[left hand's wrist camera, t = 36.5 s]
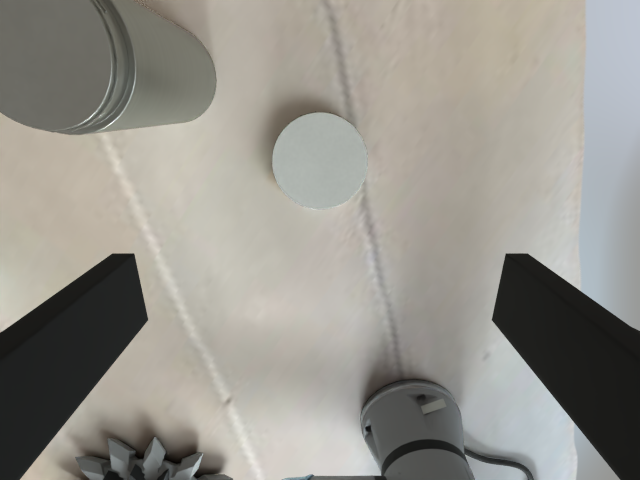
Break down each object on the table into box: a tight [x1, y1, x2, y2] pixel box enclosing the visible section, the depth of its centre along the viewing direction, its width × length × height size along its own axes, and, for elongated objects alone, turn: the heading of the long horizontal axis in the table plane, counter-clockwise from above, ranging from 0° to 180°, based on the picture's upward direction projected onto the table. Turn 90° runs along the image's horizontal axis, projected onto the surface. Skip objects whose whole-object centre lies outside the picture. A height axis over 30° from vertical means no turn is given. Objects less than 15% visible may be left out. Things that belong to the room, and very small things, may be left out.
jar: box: [0, 0, 216, 135], centre depth 28 cm, size 10×10×20 cm
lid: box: [272, 112, 368, 210], centre depth 40 cm, size 11×11×2 cm
